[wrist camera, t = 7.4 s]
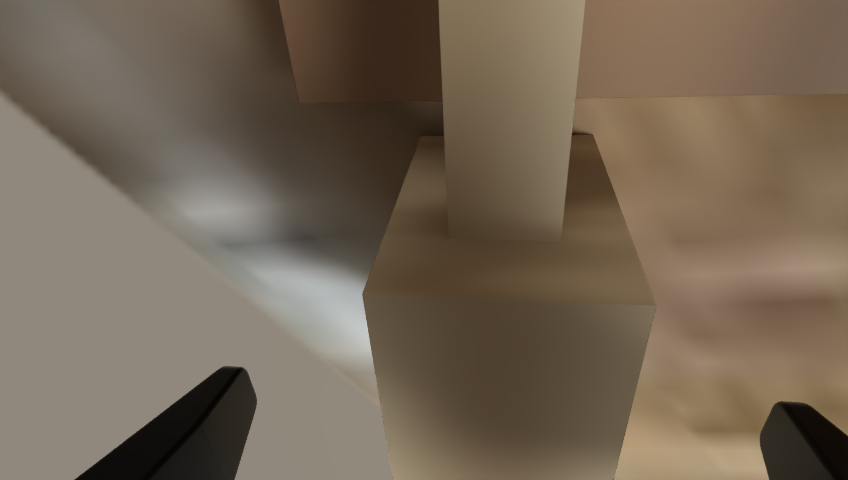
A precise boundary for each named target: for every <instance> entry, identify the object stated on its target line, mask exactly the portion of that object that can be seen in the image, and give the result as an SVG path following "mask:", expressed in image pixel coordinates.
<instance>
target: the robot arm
mask: <svg viewBox="0 0 848 480" xmlns="http://www.w3.org/2000/svg"><path fill="white" fill-rule="evenodd" d="M256 405H257V399H256V394H255V391H254V388H253V386H252V383H251V380H250V377H249V374H248V372H247V370H246V369H245V368H243V367H233V366H224V367H222V368H220V369H218V370H217V371H216V372H214V373H213V374H212V375H210V376H209V377H208V378H206V379H205V380H204V381H203V382H201V383H200V384H199V385H197V386H196V387H195V388H194V389H192V390H191V391H189V392H188V393H187V394H186V395H184V396H183V397H182V398H180V399H179V400H178V401H176V402H175V403H174V404H173V405H171V406H170V407H169V408H167V409H166V410H165V411H164V412H162V413H161V414H160V415H158V416H157V417H156V418H154V419H153V420H152V421H150V422H149V423H148V424H146V425H145V426H144V427H143V428H141V429H140V430H139V431H137V432H136V433H135V434H133V435H132V436H131V437H129V438H128V439H127V440H126V441H124V442H123V443H122V444H120V445H119V446H118V447H117V448H115V449H114V450H113V451H111V452H110V453H109V454H107V455H106V456H105V457H103V458H102V459H101V460H99V461H98V462H97V463H96V464H94V465H93V466H92V467H90V468H89V469H88V470H86V471H85V472H84V473H83V474H81V475H80V476H79V477H77V478H76V479H75V480H234V479H235V476H236V473H237V470H238V466H239V463H240V460H241V456H242V453H243V449H244V446H245V443H246V440H247V436H248V433H249V430H250V427H251V423H252V420H253V417H254V413H255V410H256ZM760 447H761V451H762V454H763V458H764V462H765V465H766V469H767V473H768V476H769V480H848V436H847V435H846V434H845V433H844V432H842V431H841V430H840V429H839V428H837V427H836V426H835V425H834V424H832V423H831V422H830V421H829V420H828V419H826V418H825V417H824V416H823V415H821V414H820V413H819V412H818V411H816V410H815V409H814V408H813V407H811V406H809V405H808V404H805V403H799V402H783V401H781V402H778V403H776V404H774V406H773V408H772V410H771V412H770V414H769V416H768V418H767V420H766V422H765V425H764V427H763V429H762V431H761V434H760Z"/></svg>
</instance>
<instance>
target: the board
mask: <svg viewBox="0 0 848 480" xmlns="http://www.w3.org/2000/svg"><path fill="white" fill-rule="evenodd" d="M279 5H280V10H281V15H282V20H283V25H284V30H285V35H286V40H287V45H288V50H289V55H290V60H291V65H292V70H293V75H294V80H295V85H296V90H297V95H298V100H299V103H352V102H408V101H443V96H442V72H441V48H440V25H439V1H438V0H279ZM802 94H848V0H585V10H584V20H583V29H582V39H581V49H580V59H579V69H578V78H577V88H576V98H575V99H577V98H633V97H690V96H746V95H802Z"/></svg>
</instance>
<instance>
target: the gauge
mask: <svg viewBox="0 0 848 480" xmlns="http://www.w3.org/2000/svg"><path fill="white" fill-rule="evenodd" d="M438 1H439V25H440V48H441V72H442V96H443V119H444V136H421V137H420V139H419V142H418V145H417V148H416V150H415V153H414V156H413V158H412V161H411V164H410V166H409V169H408V172H407V175H406V177H405V180H404V183H403V185H402V188H401V191H400V194H399V196H398V199H397V202H396V204H395V207H394V210H393V212H392V215H391V218H390V221H389V223H388V226H387V229H386V231H385V234H384V237H383V240H382V242H381V245H380V248H379V250H378V253H377V256H376V258H375V261H374V264H373V267H372V269H371V272H370V275H369V277H368V280H367V283H366V286H365V288H364V291H363V294H362V295H363V301H364V307H365V313H366V320H367V326H368V332H369V338H370V344H371V350H372V356H373V362H374V368H375V374H376V380H377V386H378V393H379V399H380V405H381V411H382V417H383V423H384V429H385V435H386V441H387V447H388V453H389V459H390V465H391V472H392V478H393V480H614V477H615V473H616V469H617V465H618V460H619V456H620V452H621V448H622V444H623V440H624V436H625V432H626V428H627V424H628V420H629V416H630V411H631V407H632V403H633V399H634V395H635V391H636V387H637V383H638V379H639V375H640V371H641V367H642V363H643V358H644V354H645V350H646V346H647V342H648V338H649V334H650V330H651V326H652V322H653V318H654V314H655V310H656V303H655V301H654V298H653V295H652V292H651V290H650V287H649V284H648V282H647V279H646V276H645V274H644V271H643V268H642V265H641V263H640V260H639V257H638V255H637V252H636V249H635V246H634V244H633V241H632V238H631V236H630V233H629V230H628V228H627V225H626V222H625V219H624V217H623V214H622V211H621V209H620V206H619V203H618V201H617V198H616V195H615V192H614V190H613V187H612V184H611V182H610V179H609V176H608V174H607V171H606V168H605V165H604V163H603V160H602V157H601V155H600V152H599V149H598V147H597V144H596V141H595V138H594V136H593V135H572V127H573V118H574V108H575V98H576V88H577V78H578V69H579V59H580V49H581V39H582V29H583V20H584V10H585V0H438Z"/></svg>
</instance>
